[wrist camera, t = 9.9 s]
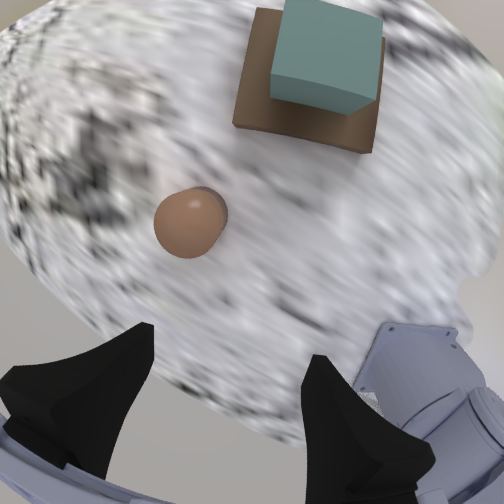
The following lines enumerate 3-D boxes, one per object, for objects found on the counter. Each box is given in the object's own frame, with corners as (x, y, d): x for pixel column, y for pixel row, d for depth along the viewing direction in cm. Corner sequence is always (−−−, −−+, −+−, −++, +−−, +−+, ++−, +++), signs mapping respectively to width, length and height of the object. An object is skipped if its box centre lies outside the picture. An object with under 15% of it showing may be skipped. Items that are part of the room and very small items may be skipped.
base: (375, 47, 15) (385, 37, 14) (362, 153, 18) (371, 153, 16) (257, 19, 15) (256, 7, 14) (235, 127, 18) (232, 123, 16)
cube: (356, 50, 14) (382, 20, 9) (347, 115, 16) (375, 100, 11) (282, 32, 14) (286, -6, 9) (270, 97, 16) (270, 73, 11)
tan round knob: (232, 191, 20) (223, 197, 16) (223, 245, 21) (213, 264, 17) (177, 182, 20) (157, 187, 16) (171, 235, 21) (151, 251, 17)
